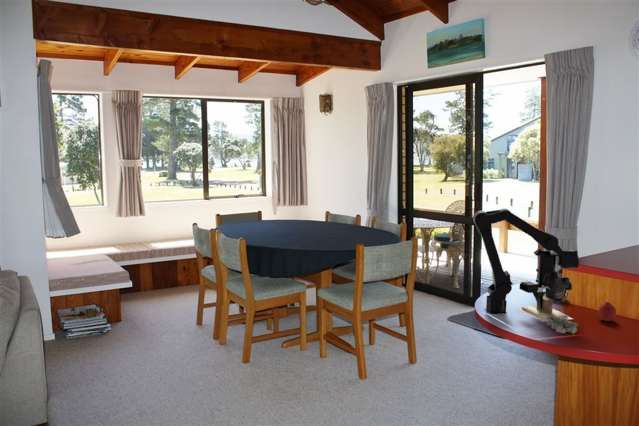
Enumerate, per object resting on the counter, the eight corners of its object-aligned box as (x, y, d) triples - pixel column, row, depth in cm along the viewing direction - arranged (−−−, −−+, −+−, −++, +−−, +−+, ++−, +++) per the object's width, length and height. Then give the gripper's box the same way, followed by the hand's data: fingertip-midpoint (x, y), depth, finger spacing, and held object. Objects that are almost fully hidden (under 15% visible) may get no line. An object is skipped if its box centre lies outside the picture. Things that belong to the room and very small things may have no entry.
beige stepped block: (543, 320, 198) (544, 303, 198) (521, 309, 211) (522, 294, 210) (567, 318, 201) (568, 302, 200) (544, 307, 213) (545, 292, 213)
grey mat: (542, 323, 197) (542, 321, 197) (516, 309, 212) (516, 308, 212) (573, 320, 200) (573, 319, 200) (545, 307, 215) (545, 306, 215)
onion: (614, 320, 200) (615, 299, 199) (616, 325, 195) (618, 303, 194) (596, 318, 202) (597, 297, 201) (598, 323, 197) (600, 301, 196)
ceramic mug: (566, 297, 230) (567, 279, 229) (568, 302, 222) (569, 284, 221) (538, 295, 233) (539, 277, 232) (540, 300, 225) (540, 282, 224)
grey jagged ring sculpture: (579, 336, 185) (579, 324, 184) (556, 335, 185) (557, 324, 185) (565, 325, 196) (566, 314, 195) (544, 325, 196) (545, 313, 195)
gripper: (538, 273, 194) (536, 316, 196) (583, 271, 198) (580, 313, 200) (519, 266, 204) (517, 307, 206) (563, 264, 209) (560, 304, 211)
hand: (544, 308), depth 206 cm, fingers closed on beige stepped block, 3 cm apart
